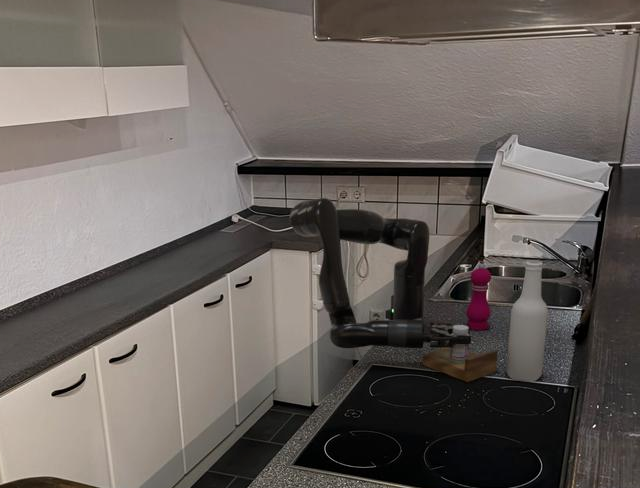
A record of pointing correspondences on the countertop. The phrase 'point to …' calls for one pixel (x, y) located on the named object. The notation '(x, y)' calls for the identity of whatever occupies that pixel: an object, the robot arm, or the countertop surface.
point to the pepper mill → (479, 300)
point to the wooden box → (462, 364)
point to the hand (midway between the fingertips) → (469, 335)
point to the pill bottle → (459, 349)
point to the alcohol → (528, 328)
